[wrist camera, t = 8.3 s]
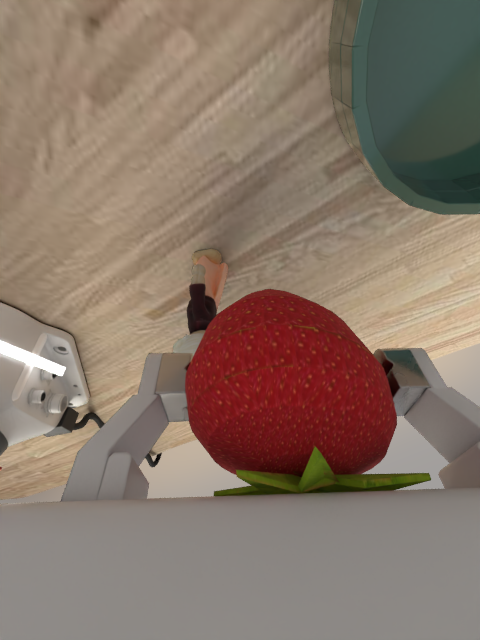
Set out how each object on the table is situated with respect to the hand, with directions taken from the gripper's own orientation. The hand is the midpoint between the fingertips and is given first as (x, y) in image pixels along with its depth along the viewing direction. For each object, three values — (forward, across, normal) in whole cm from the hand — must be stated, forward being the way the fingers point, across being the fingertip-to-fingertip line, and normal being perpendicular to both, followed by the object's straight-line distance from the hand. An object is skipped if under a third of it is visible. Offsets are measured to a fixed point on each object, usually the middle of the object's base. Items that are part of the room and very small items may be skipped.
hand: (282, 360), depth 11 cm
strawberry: (+4, 0, 0) cm, 4 cm away
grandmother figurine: (+18, +4, +8) cm, 20 cm away
